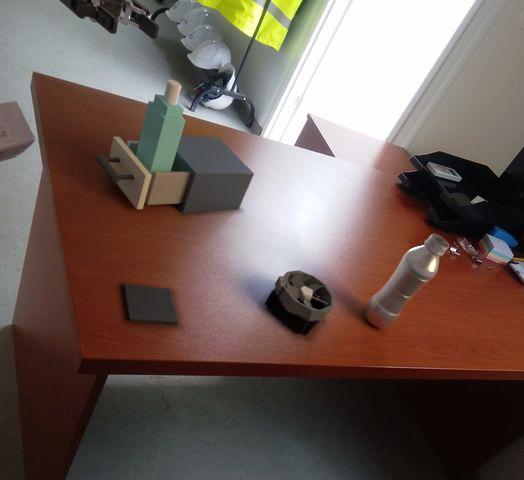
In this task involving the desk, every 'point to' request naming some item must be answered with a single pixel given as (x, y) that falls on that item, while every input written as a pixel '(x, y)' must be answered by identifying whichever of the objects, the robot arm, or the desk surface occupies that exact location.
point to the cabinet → (212, 175)
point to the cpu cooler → (300, 300)
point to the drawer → (144, 176)
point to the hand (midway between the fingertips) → (136, 30)
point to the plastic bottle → (405, 282)
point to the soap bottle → (161, 131)
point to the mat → (150, 305)
